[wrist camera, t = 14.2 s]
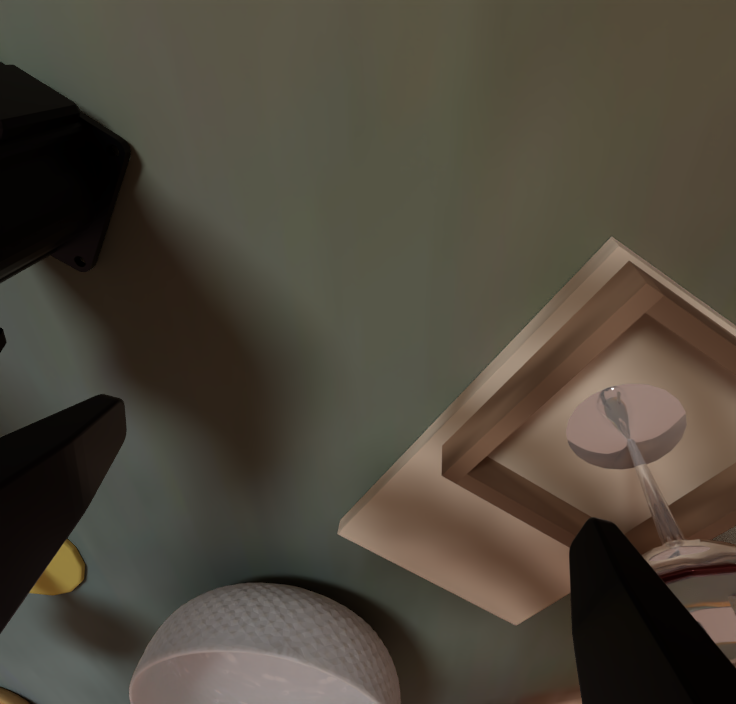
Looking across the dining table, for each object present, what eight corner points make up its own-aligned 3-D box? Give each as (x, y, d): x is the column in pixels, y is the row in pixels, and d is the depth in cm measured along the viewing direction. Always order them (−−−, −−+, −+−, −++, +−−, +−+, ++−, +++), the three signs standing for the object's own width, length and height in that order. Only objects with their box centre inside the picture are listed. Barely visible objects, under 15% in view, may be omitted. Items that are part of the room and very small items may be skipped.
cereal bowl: (333, 700, 43) (314, 808, 37) (149, 618, 40) (96, 721, 34) (457, 614, 34) (459, 739, 28) (233, 501, 31) (181, 613, 25)
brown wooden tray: (514, 610, 33) (519, 658, 30) (340, 519, 30) (330, 564, 28) (842, 402, 22) (893, 451, 19) (611, 236, 19) (635, 267, 17)
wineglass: (669, 494, 24) (820, 818, 14) (527, 468, 25) (578, 768, 15) (741, 381, 21) (1011, 710, 11) (573, 353, 21) (683, 646, 11)
